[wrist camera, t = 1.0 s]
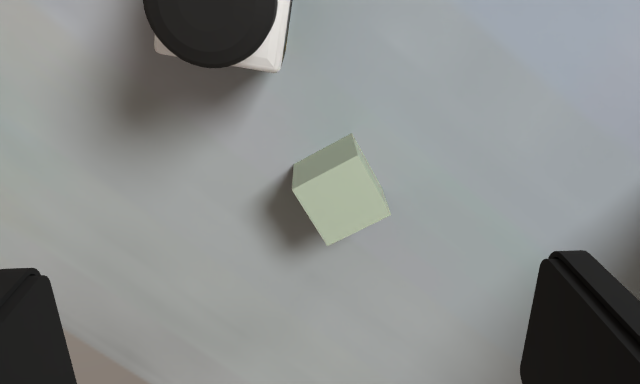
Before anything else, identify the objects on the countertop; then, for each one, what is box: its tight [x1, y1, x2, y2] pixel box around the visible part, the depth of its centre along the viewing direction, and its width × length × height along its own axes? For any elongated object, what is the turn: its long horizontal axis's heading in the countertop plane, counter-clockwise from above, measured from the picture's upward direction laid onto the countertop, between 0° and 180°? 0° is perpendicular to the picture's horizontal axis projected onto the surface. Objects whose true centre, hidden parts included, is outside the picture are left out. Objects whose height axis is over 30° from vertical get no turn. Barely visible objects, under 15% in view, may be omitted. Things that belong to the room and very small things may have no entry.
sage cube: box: [292, 133, 391, 246], centre depth 37 cm, size 5×5×5 cm
